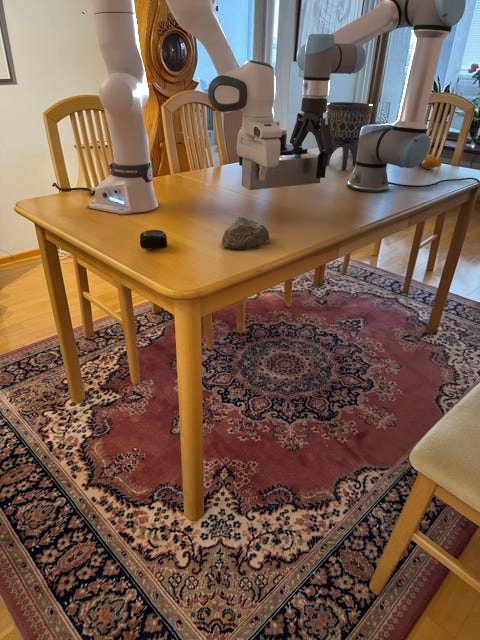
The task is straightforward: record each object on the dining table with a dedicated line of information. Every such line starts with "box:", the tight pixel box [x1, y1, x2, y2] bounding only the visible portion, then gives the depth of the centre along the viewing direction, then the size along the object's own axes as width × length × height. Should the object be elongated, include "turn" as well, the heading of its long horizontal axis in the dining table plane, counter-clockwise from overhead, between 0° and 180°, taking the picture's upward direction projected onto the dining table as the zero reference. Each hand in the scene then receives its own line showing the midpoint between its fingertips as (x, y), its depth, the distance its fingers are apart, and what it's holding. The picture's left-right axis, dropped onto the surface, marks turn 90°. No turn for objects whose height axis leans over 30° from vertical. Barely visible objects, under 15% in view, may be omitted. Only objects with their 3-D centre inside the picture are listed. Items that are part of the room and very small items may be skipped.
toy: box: [417, 154, 442, 170], centre depth 212 cm, size 11×6×15 cm
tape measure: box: [139, 229, 168, 250], centre depth 117 cm, size 7×7×4 cm
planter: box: [325, 101, 374, 172], centre depth 204 cm, size 20×20×26 cm
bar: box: [241, 153, 321, 191], centre depth 137 cm, size 24×6×8 cm, turn 116°
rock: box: [221, 216, 270, 250], centre depth 119 cm, size 13×9×6 cm, turn 131°
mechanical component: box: [238, 120, 311, 167], centre depth 191 cm, size 22×21×30 cm
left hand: (255, 177), depth 134 cm, fingers closed on bar, 5 cm apart
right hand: (307, 173), depth 141 cm, fingers open, 13 cm apart
